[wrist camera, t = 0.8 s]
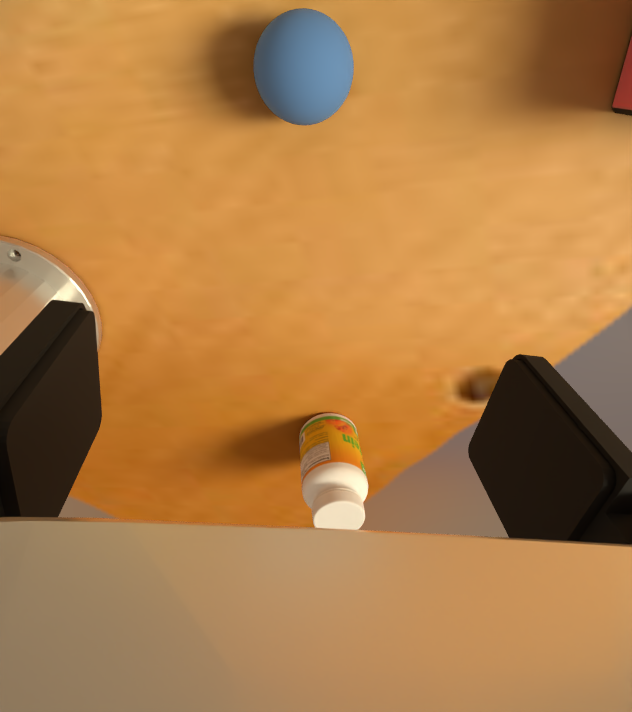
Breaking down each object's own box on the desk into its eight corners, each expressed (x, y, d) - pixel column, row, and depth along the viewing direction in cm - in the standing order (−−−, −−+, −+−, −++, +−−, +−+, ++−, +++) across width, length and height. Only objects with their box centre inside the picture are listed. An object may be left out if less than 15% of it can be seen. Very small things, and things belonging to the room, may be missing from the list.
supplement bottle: (367, 438, 45) (387, 523, 37) (319, 463, 46) (328, 551, 38) (336, 401, 42) (351, 484, 34) (287, 429, 44) (289, 516, 35)
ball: (325, 134, 31) (333, 147, 26) (243, 97, 29) (236, 104, 25) (362, 39, 28) (378, 36, 23) (274, -7, 27) (273, -20, 22)
